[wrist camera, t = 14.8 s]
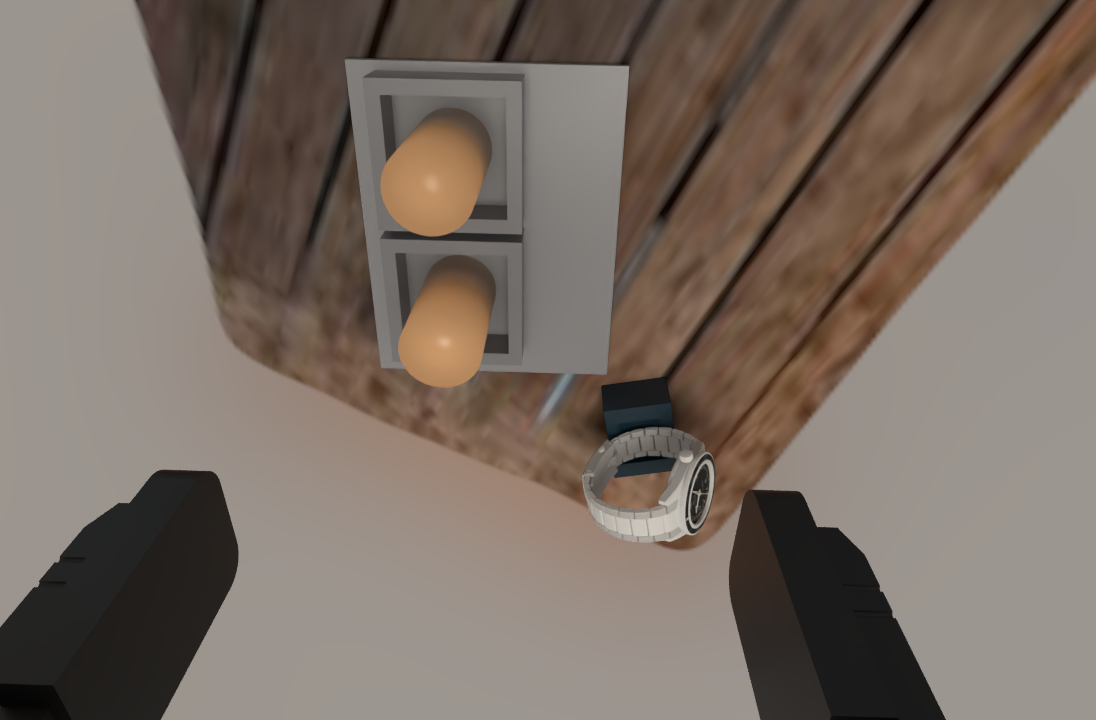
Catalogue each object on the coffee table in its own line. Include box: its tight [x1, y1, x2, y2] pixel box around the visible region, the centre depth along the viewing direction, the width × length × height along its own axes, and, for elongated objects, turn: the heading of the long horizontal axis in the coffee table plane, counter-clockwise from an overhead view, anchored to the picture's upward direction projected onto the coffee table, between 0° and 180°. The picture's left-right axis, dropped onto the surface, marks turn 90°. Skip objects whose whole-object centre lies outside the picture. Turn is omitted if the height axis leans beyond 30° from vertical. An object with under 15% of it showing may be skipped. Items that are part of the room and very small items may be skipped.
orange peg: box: [398, 255, 496, 387], centre depth 40 cm, size 4×4×8 cm
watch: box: [582, 377, 715, 542], centre depth 44 cm, size 6×8×11 cm
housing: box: [345, 58, 629, 375], centre depth 38 cm, size 19×15×9 cm
